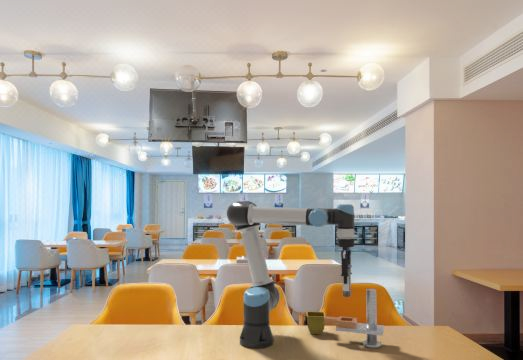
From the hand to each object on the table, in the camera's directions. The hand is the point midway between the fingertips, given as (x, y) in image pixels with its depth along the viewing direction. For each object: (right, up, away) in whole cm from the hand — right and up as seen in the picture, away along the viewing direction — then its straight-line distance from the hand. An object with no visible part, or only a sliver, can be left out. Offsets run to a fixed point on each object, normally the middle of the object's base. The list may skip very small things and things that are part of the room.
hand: (346, 289), depth 189 cm
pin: (0, -3, 0) cm, 3 cm away
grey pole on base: (+3, -23, -2) cm, 23 cm away
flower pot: (-12, -24, +12) cm, 30 cm away
